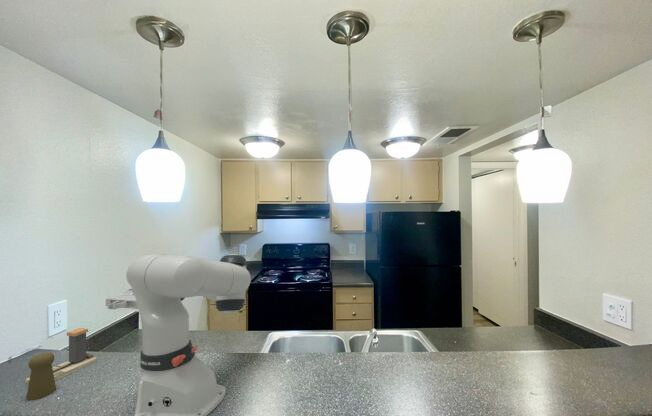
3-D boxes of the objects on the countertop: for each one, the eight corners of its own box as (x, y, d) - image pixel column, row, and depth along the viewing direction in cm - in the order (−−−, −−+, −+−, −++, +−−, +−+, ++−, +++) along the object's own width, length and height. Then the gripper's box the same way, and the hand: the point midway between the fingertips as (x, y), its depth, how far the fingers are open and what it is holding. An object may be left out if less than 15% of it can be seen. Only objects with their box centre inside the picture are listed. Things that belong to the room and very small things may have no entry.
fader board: (97, 361, 97) (97, 354, 97) (43, 386, 82) (43, 379, 82) (80, 358, 99) (80, 352, 99) (25, 383, 84) (25, 375, 84)
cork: (36, 401, 75) (36, 360, 76) (20, 399, 76) (20, 359, 77) (61, 388, 81) (61, 350, 81) (46, 386, 82) (46, 349, 83)
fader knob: (88, 357, 96) (88, 328, 96) (75, 363, 92) (75, 333, 92) (80, 356, 97) (80, 327, 97) (66, 362, 93) (66, 332, 93)
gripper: (162, 306, 116) (130, 317, 103) (126, 303, 122) (91, 313, 109) (162, 291, 116) (130, 300, 103) (126, 289, 122) (92, 297, 109)
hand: (110, 307), depth 106 cm, fingers closed
